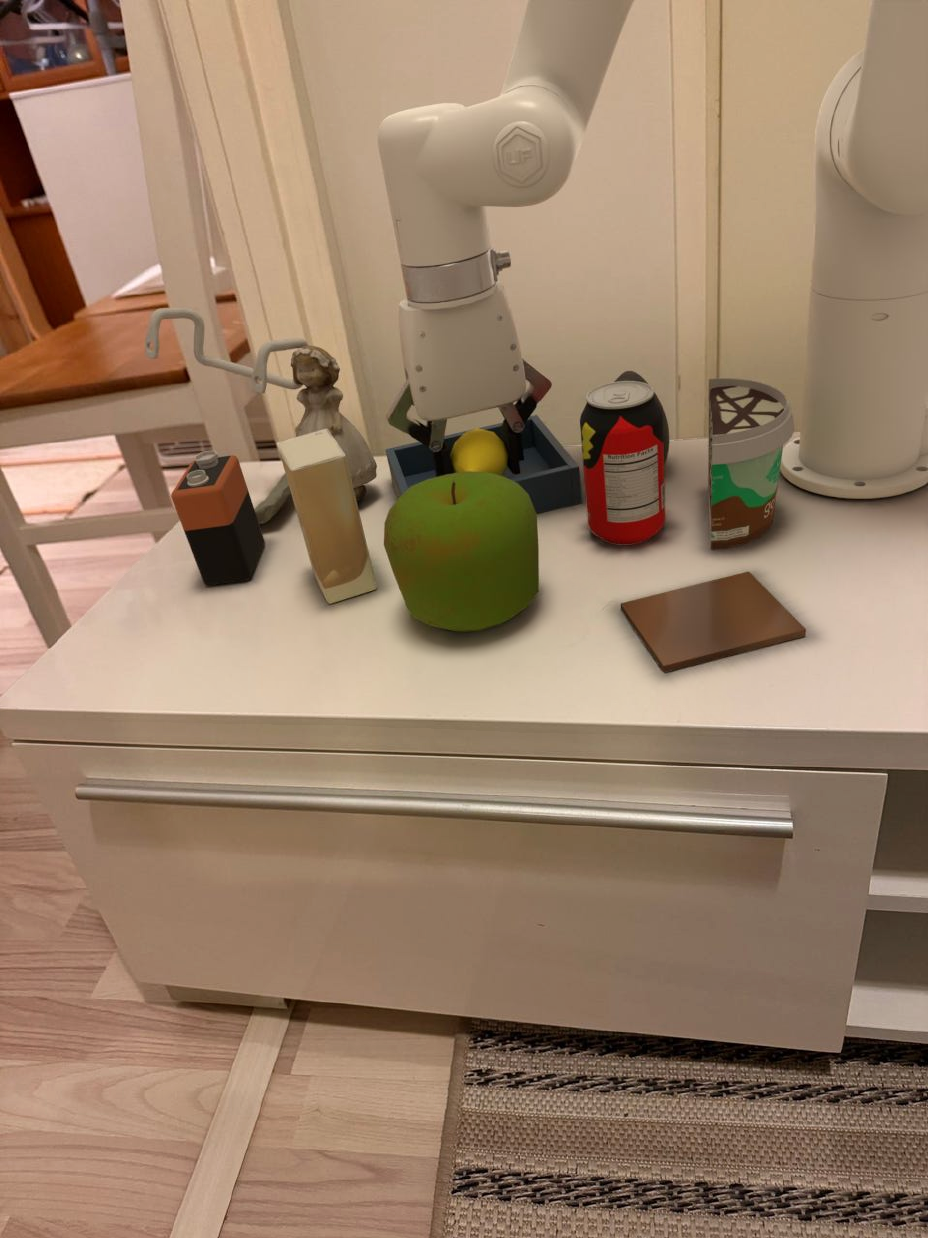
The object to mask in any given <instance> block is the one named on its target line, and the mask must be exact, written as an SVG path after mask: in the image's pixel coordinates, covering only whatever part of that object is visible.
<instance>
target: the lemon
mask: <svg viewBox="0 0 928 1238" xmlns="http://www.w3.org/2000/svg"><path fill="white" fill-rule="evenodd" d="M479 428H480V427H477V428H473V429H474V430H472V429H470V430H471V431H468V430H467V431H468V432H466V433H465V434H463V435H462V436H461V437H460V438H459V439H458V440H457V441H456V442H455V444H454V446H453V449H452V451H451V453H450V456H451V462H452V467H453V473H460V472H467V471H472V472H488V473H492V474H496V475H500V476H502V475H503V474H504V472H505V470H506V466H507V460H508V452H507V449H506V446H505V443H504V442H503V441H502V440H501V439H500V438H499V437H498V436H497V435H496V434H495V433H494V432H491V431H487V430H483V429H479Z"/></svg>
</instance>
